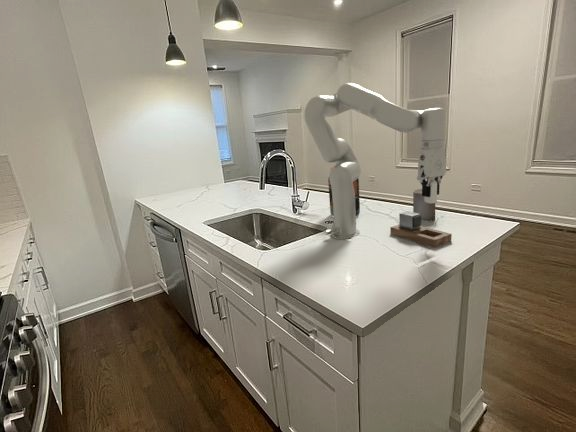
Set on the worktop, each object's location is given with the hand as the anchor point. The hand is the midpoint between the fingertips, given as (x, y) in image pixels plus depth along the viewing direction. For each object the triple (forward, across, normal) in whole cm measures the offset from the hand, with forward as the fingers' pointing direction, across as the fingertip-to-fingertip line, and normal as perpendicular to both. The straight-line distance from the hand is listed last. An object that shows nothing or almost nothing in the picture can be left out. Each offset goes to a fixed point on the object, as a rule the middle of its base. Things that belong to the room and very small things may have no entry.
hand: (430, 194), depth 117 cm
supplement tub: (+19, +3, +55) cm, 58 cm away
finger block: (+18, 0, +9) cm, 20 cm away
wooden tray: (+19, 0, +5) cm, 20 cm away
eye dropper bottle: (+3, 0, 0) cm, 3 cm away
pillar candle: (+19, +24, +22) cm, 38 cm away
